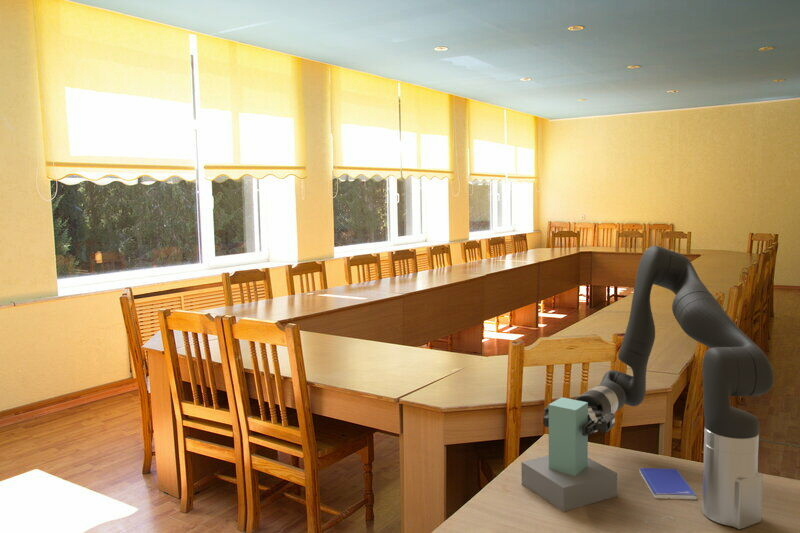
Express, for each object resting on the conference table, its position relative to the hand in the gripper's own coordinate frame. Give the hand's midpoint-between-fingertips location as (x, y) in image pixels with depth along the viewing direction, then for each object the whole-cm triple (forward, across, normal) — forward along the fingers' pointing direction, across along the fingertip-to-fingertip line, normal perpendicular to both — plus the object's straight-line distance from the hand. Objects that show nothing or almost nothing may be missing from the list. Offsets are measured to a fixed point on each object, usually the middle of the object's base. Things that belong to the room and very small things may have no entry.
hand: (564, 426), depth 132 cm
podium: (-2, 0, +14) cm, 15 cm away
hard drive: (-16, +16, +15) cm, 27 cm away
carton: (-2, 0, +10) cm, 10 cm away
